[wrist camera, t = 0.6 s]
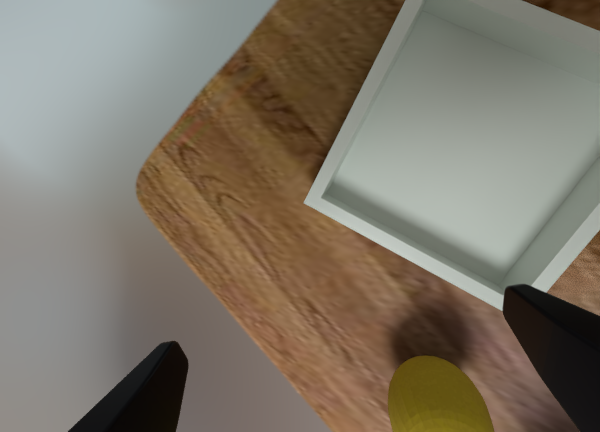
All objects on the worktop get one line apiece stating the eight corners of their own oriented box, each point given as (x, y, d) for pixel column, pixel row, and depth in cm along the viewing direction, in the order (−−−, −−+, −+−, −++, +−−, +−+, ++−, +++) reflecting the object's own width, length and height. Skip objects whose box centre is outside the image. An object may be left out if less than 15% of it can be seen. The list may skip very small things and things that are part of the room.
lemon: (474, 343, 20) (541, 459, 12) (455, 409, 21) (505, 553, 13) (392, 323, 21) (405, 417, 13) (378, 387, 22) (383, 507, 14)
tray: (658, 96, 15) (726, 81, 12) (498, 297, 19) (521, 321, 16) (415, -4, 17) (424, -39, 14) (312, 197, 20) (303, 202, 18)
